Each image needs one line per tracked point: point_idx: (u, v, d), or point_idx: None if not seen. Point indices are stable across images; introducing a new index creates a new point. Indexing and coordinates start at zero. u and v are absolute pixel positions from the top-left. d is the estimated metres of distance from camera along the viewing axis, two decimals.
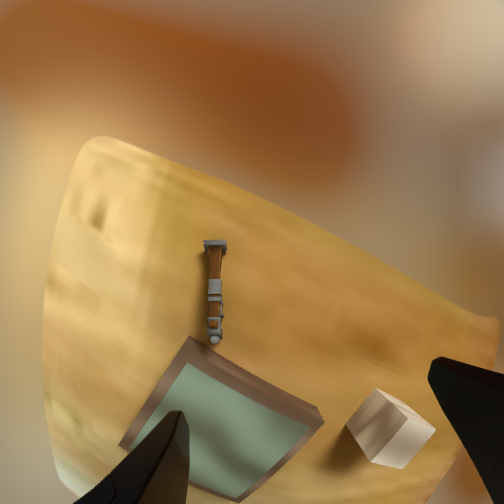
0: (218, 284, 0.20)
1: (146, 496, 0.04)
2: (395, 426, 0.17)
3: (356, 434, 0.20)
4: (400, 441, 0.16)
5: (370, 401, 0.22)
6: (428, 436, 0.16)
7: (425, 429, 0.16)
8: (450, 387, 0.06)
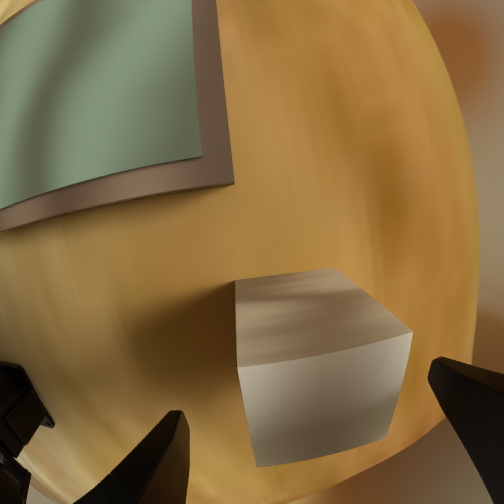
0: None
1: (146, 496, 0.04)
2: (367, 332, 0.07)
3: (245, 300, 0.11)
4: (341, 387, 0.07)
5: (314, 276, 0.12)
6: (366, 439, 0.08)
7: (385, 415, 0.07)
8: (450, 387, 0.06)
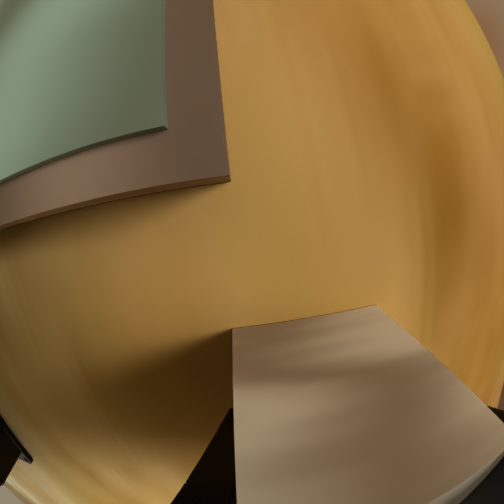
0: None
1: (233, 500, 0.04)
2: (461, 453, 0.02)
3: (249, 379, 0.06)
4: None
5: (352, 324, 0.08)
6: None
7: None
8: None
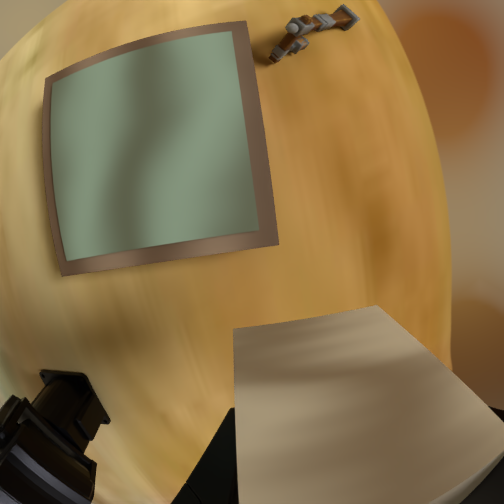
0: (331, 20, 0.13)
1: (233, 500, 0.04)
2: (461, 453, 0.02)
3: (250, 379, 0.06)
4: None
5: (353, 324, 0.08)
6: None
7: None
8: None
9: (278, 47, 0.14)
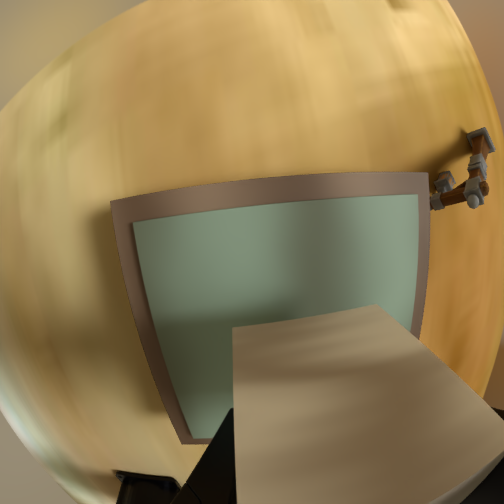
0: (485, 167, 0.11)
1: (233, 500, 0.04)
2: (462, 451, 0.02)
3: (249, 378, 0.06)
4: None
5: (352, 323, 0.08)
6: None
7: None
8: None
9: (439, 201, 0.12)
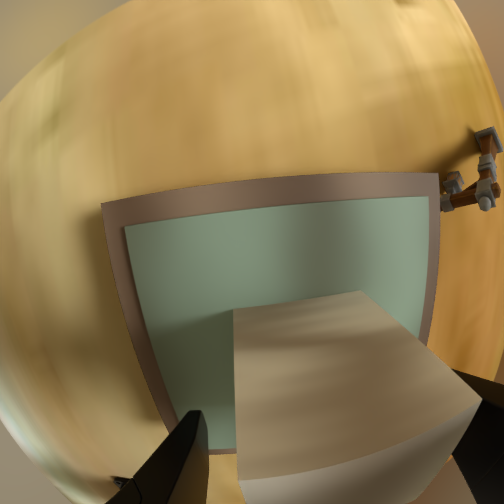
0: (495, 167, 0.10)
1: (172, 499, 0.04)
2: (427, 406, 0.04)
3: (247, 346, 0.07)
4: (384, 476, 0.04)
5: (337, 305, 0.09)
6: None
7: (424, 483, 0.04)
8: None
9: (449, 202, 0.11)
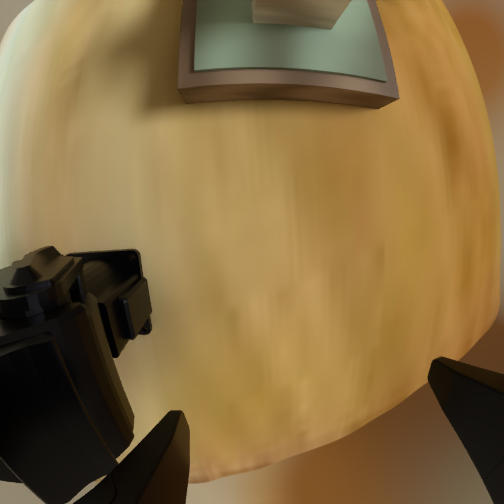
0: None
1: (146, 496, 0.04)
2: None
3: None
4: None
5: None
6: None
7: None
8: (450, 387, 0.06)
9: None
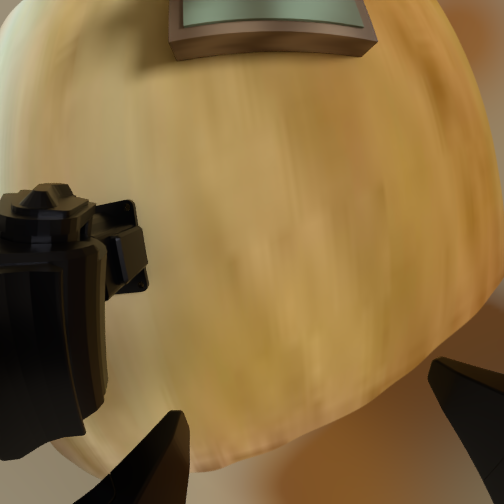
0: None
1: (146, 496, 0.04)
2: None
3: None
4: None
5: None
6: None
7: None
8: (450, 387, 0.06)
9: None
